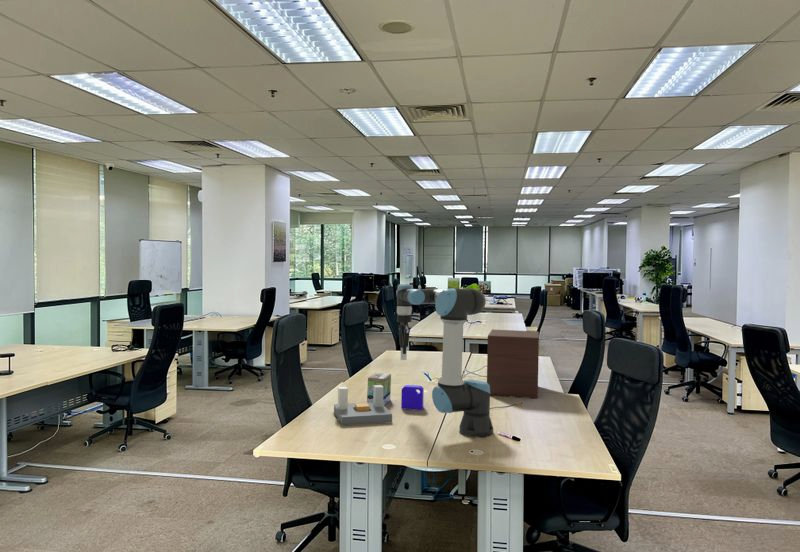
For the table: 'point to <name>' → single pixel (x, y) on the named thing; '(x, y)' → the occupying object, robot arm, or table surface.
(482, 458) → the table surface
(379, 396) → the light grey tall block
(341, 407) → the block
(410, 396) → the bracket
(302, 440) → the table surface
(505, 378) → the storage cube
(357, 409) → the button
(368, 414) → the panel
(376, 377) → the tea box
